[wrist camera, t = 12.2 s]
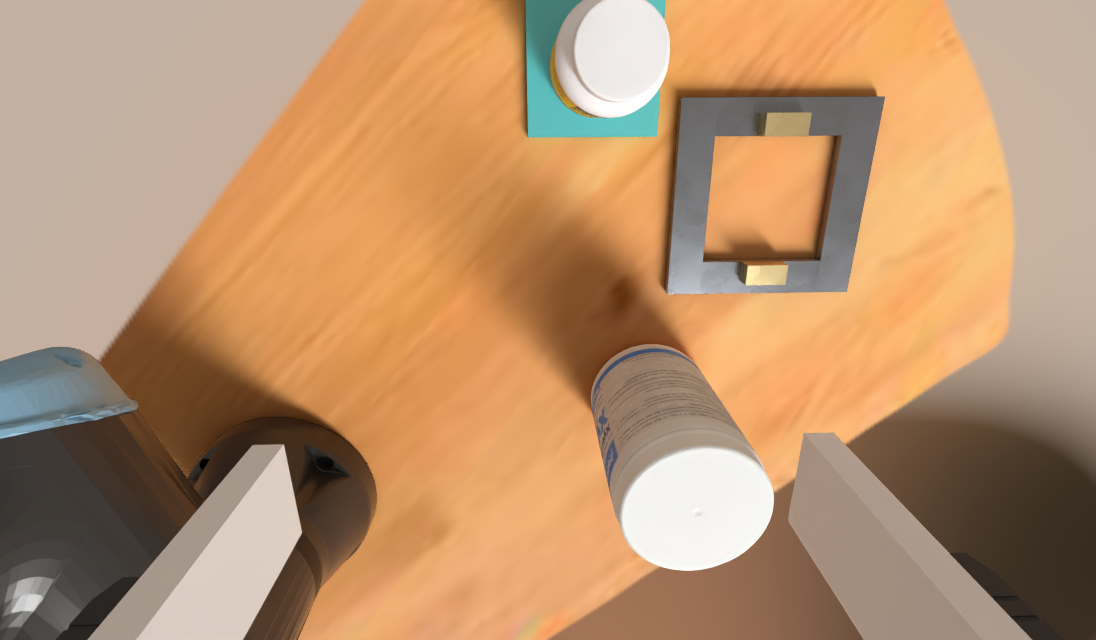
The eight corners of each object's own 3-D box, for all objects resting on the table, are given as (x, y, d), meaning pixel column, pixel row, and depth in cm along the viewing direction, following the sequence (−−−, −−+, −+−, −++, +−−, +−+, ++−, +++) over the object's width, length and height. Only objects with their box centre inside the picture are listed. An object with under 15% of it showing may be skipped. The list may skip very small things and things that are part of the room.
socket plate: (664, 291, 42) (671, 299, 41) (678, 97, 38) (686, 96, 36) (841, 288, 43) (855, 296, 41) (878, 96, 38) (896, 95, 36)
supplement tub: (567, 379, 45) (583, 494, 31) (667, 317, 43) (729, 411, 29) (628, 460, 48) (666, 598, 34) (723, 405, 46) (804, 528, 32)
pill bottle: (561, 128, 37) (572, 132, 27) (538, 30, 35) (542, -6, 25) (649, 105, 37) (694, 100, 27) (632, 4, 35) (674, -43, 25)
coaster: (528, 137, 38) (527, 137, 38) (525, -11, 35) (525, -13, 34) (655, 136, 38) (657, 136, 38) (664, -10, 35) (666, -13, 35)
